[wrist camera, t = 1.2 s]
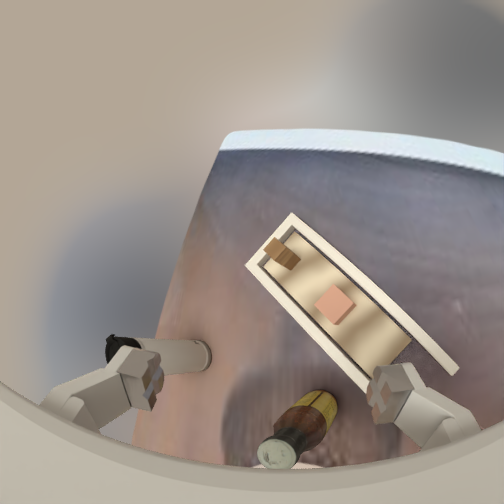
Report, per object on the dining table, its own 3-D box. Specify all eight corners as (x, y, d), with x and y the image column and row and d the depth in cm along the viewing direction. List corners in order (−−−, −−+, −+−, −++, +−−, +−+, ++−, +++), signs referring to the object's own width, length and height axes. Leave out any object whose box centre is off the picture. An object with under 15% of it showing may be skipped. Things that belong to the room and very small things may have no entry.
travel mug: (203, 333, 51) (118, 326, 34) (217, 363, 48) (131, 370, 31) (182, 346, 53) (98, 343, 36) (194, 376, 49) (110, 384, 32)
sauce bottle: (296, 416, 39) (233, 463, 22) (308, 383, 40) (249, 417, 23) (333, 428, 35) (291, 489, 18) (346, 394, 36) (313, 442, 19)
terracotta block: (356, 305, 38) (353, 302, 35) (338, 324, 39) (333, 324, 35) (338, 287, 40) (333, 283, 37) (320, 306, 41) (313, 304, 37)
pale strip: (411, 339, 34) (417, 342, 27) (373, 378, 35) (370, 389, 28) (297, 233, 47) (279, 215, 40) (266, 268, 48) (243, 256, 41)
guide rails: (456, 366, 29) (459, 367, 28) (399, 423, 31) (399, 428, 29) (295, 216, 49) (291, 212, 47) (250, 267, 50) (244, 265, 48)
